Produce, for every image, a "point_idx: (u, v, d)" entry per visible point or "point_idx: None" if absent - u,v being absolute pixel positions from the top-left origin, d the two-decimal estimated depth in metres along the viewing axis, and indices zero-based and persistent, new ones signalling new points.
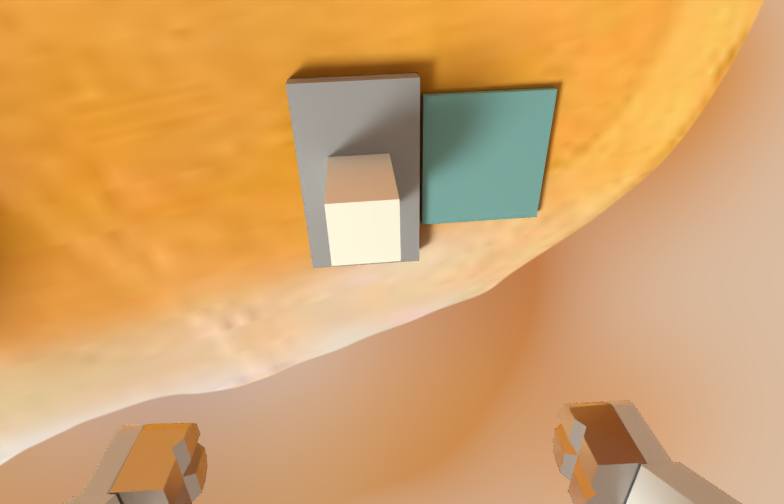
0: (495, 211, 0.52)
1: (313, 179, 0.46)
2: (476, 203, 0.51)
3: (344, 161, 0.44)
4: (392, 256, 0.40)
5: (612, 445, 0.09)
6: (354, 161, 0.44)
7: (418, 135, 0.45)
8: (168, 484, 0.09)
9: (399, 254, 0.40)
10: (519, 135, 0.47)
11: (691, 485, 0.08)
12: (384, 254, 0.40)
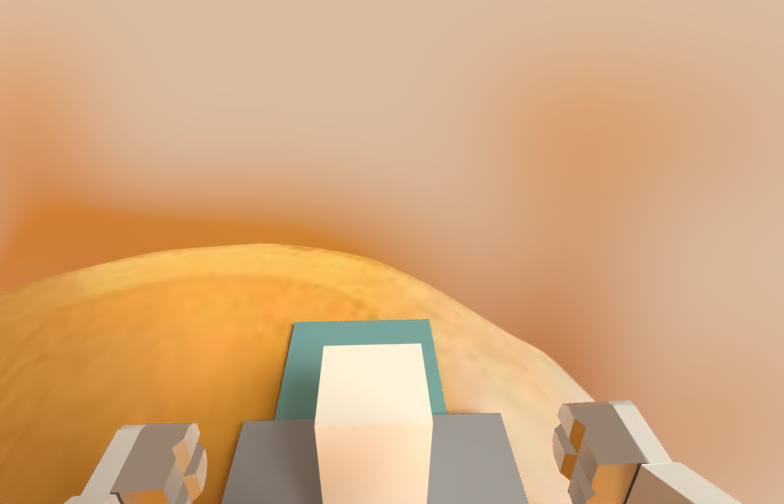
0: (424, 350, 0.45)
1: None
2: None
3: None
4: (412, 351, 0.28)
5: (612, 445, 0.09)
6: None
7: (313, 420, 0.36)
8: (168, 484, 0.09)
9: (409, 344, 0.29)
10: (335, 341, 0.46)
11: (690, 486, 0.08)
12: (409, 359, 0.28)
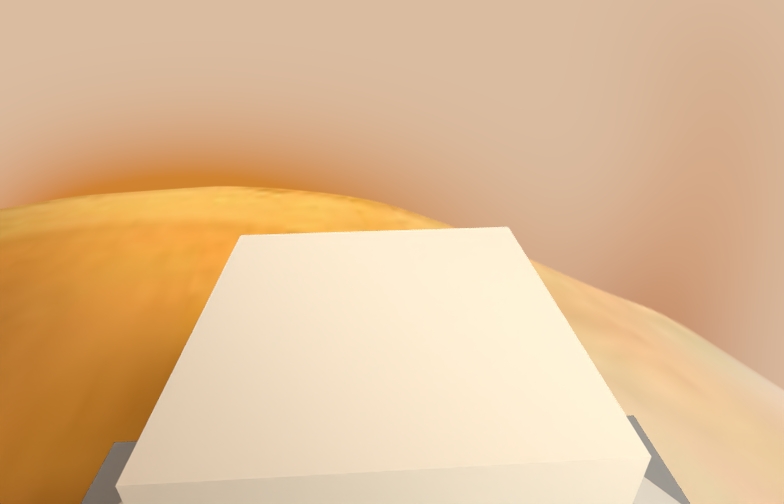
0: None
1: None
2: None
3: None
4: (490, 243, 0.10)
5: None
6: None
7: None
8: None
9: (478, 229, 0.10)
10: None
11: None
12: (487, 258, 0.09)
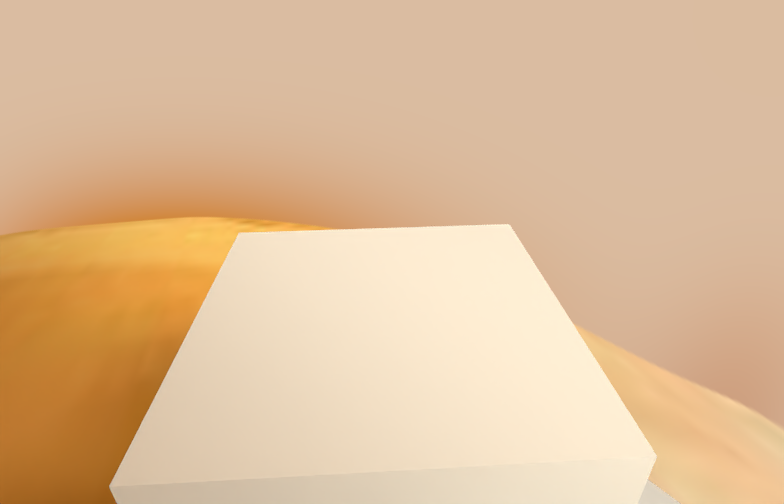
0: None
1: None
2: None
3: None
4: (491, 240, 0.10)
5: None
6: None
7: None
8: None
9: (479, 226, 0.10)
10: None
11: None
12: (488, 256, 0.09)
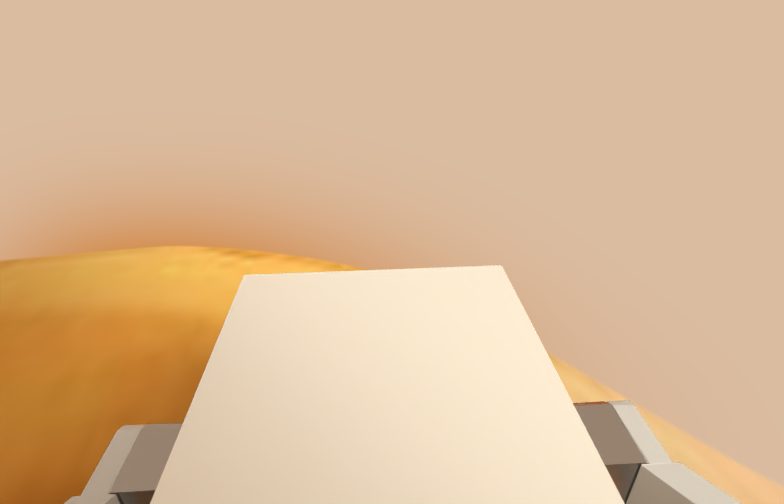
0: None
1: None
2: None
3: None
4: (484, 283, 0.10)
5: (612, 445, 0.09)
6: None
7: None
8: None
9: (473, 268, 0.11)
10: None
11: (690, 485, 0.08)
12: (481, 301, 0.10)
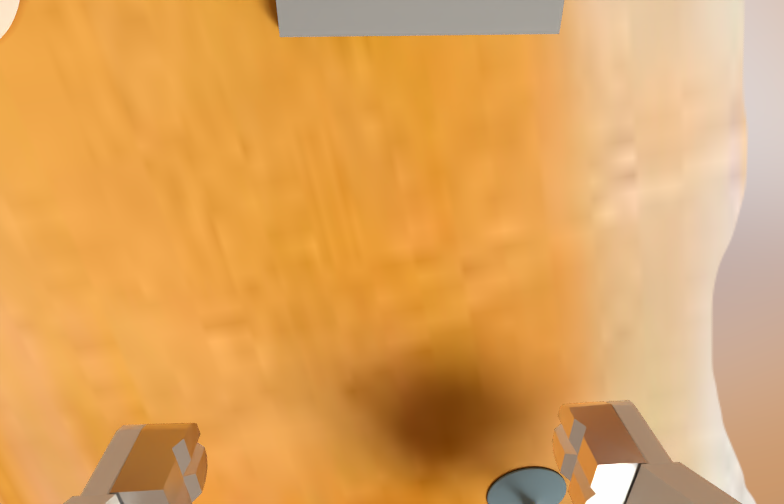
0: None
1: (411, 14, 0.33)
2: None
3: None
4: None
5: (612, 445, 0.09)
6: None
7: None
8: (168, 484, 0.09)
9: None
10: None
11: (690, 485, 0.08)
12: None
